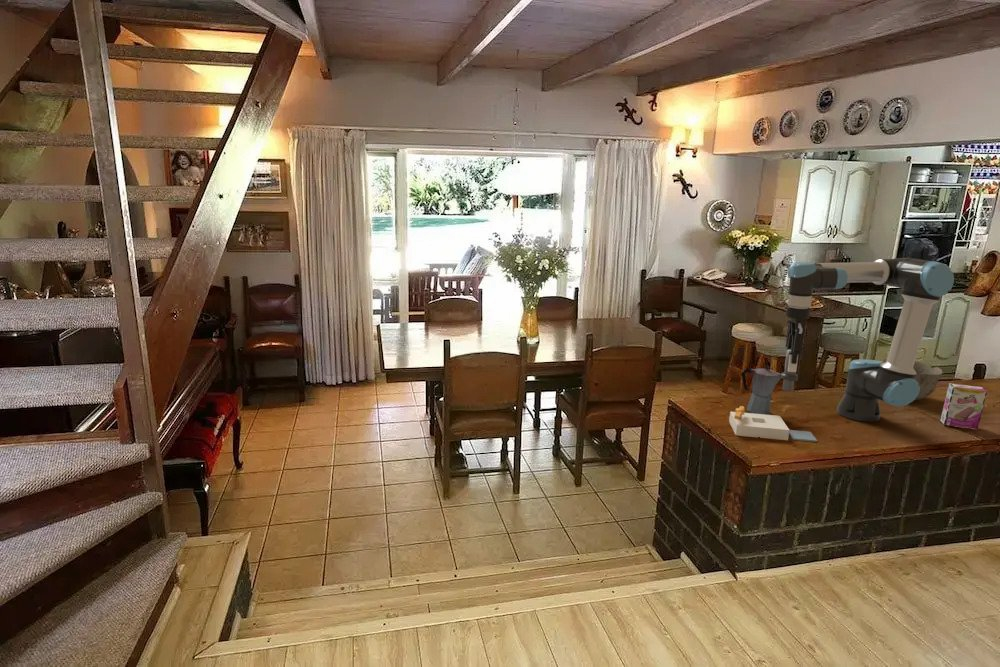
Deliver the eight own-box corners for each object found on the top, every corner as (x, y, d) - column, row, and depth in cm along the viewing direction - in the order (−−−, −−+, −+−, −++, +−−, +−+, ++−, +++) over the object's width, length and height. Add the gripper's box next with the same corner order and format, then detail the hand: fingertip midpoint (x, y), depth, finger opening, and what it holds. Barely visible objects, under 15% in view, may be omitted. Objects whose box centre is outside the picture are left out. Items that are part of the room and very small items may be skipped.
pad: (810, 433, 221) (810, 431, 221) (816, 442, 213) (817, 440, 213) (787, 431, 222) (787, 429, 222) (793, 439, 215) (793, 438, 215)
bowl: (937, 411, 247) (944, 376, 243) (875, 400, 258) (882, 367, 255) (934, 396, 265) (941, 364, 261) (877, 386, 276) (883, 355, 272)
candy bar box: (944, 426, 230) (952, 386, 226) (939, 422, 235) (948, 382, 231) (978, 431, 227) (988, 390, 223) (973, 426, 231) (982, 386, 227)
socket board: (778, 425, 228) (780, 411, 226) (788, 440, 214) (790, 425, 213) (729, 421, 231) (730, 406, 230) (735, 435, 218) (737, 420, 216)
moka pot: (780, 418, 235) (787, 370, 230) (739, 414, 238) (745, 367, 233) (774, 409, 244) (781, 363, 239) (735, 406, 247) (741, 360, 242)
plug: (793, 387, 218) (799, 348, 215) (797, 392, 213) (803, 352, 209) (777, 386, 219) (782, 347, 216) (781, 391, 214) (786, 351, 210)
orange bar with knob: (737, 408, 227) (738, 404, 227) (746, 410, 226) (746, 406, 225) (731, 418, 217) (732, 414, 217) (741, 420, 216) (741, 416, 215)
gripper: (781, 301, 217) (774, 362, 223) (793, 310, 201) (784, 376, 207) (803, 302, 216) (795, 363, 221) (817, 311, 200) (808, 377, 206)
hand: (790, 369), depth 214 cm, fingers closed on plug, 3 cm apart
